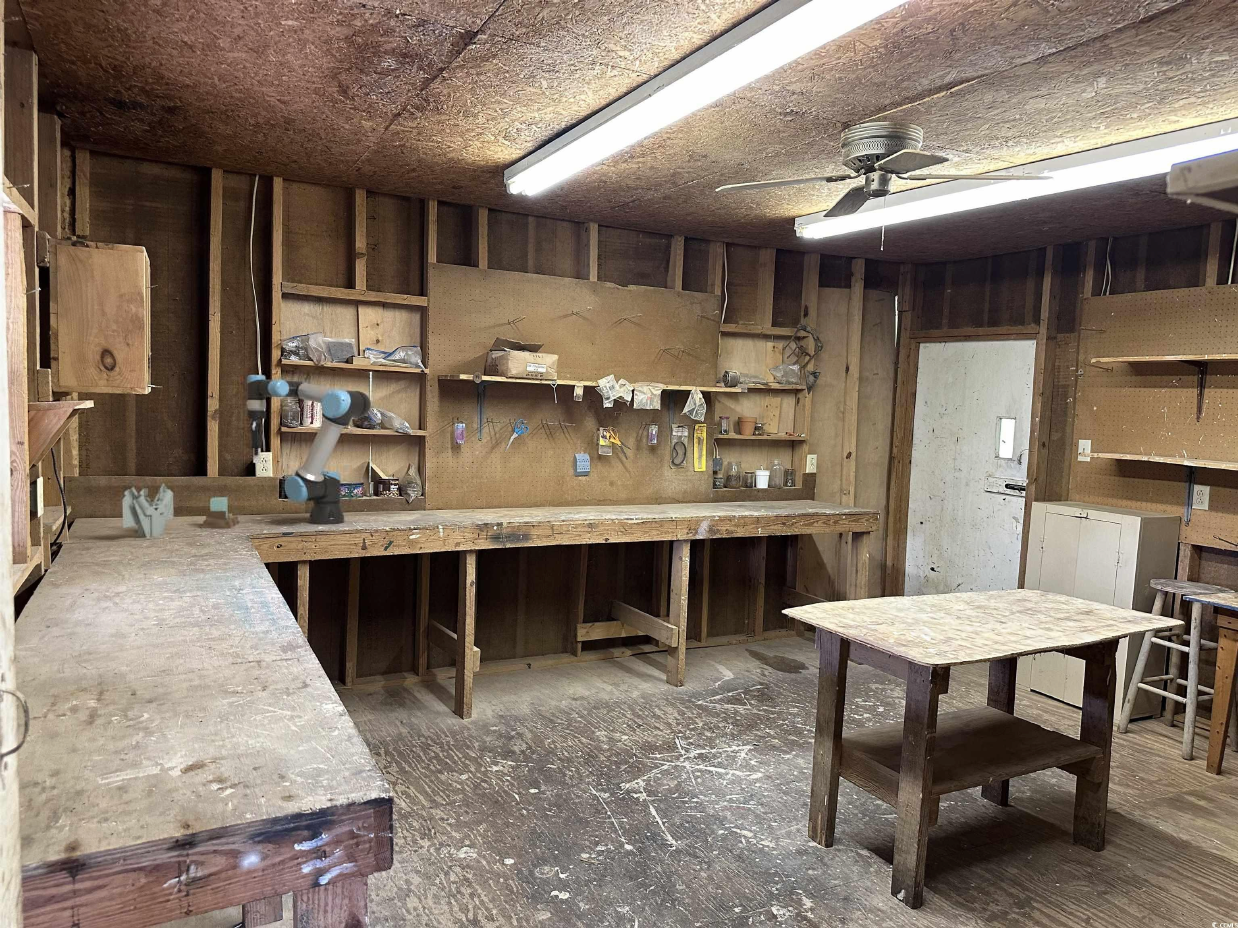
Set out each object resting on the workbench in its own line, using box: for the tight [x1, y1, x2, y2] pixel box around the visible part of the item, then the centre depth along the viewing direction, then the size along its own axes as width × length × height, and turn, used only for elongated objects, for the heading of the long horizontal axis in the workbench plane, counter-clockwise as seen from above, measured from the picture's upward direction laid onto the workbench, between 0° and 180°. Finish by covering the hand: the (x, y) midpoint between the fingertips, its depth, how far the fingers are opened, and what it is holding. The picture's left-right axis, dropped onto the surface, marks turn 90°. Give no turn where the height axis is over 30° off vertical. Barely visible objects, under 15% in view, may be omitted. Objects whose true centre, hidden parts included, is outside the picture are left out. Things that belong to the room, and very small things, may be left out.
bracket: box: [121, 483, 174, 538], centre depth 320 cm, size 28×7×20 cm, turn 171°
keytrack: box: [201, 510, 240, 529], centre depth 351 cm, size 15×11×7 cm
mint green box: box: [209, 496, 229, 520], centre depth 348 cm, size 7×5×11 cm
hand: (257, 462), depth 366 cm, fingers closed
